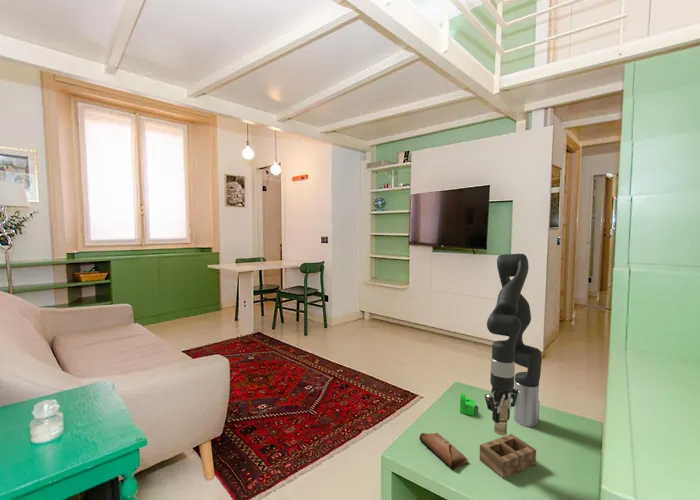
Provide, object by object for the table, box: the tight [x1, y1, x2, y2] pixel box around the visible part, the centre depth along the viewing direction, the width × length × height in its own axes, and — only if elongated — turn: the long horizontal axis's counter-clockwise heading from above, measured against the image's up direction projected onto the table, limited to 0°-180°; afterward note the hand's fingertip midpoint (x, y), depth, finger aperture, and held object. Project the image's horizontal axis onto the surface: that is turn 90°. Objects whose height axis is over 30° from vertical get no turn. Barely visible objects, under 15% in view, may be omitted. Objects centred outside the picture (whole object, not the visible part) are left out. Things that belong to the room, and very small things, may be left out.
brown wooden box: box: [479, 433, 537, 480], centre depth 117 cm, size 16×10×6 cm, turn 114°
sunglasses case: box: [418, 432, 469, 470], centre depth 122 cm, size 18×7×7 cm
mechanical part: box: [459, 392, 476, 417], centre depth 154 cm, size 12×6×8 cm, turn 158°
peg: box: [493, 399, 508, 437], centre depth 114 cm, size 4×4×12 cm
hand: (500, 420), depth 114 cm, fingers closed on peg, 4 cm apart
